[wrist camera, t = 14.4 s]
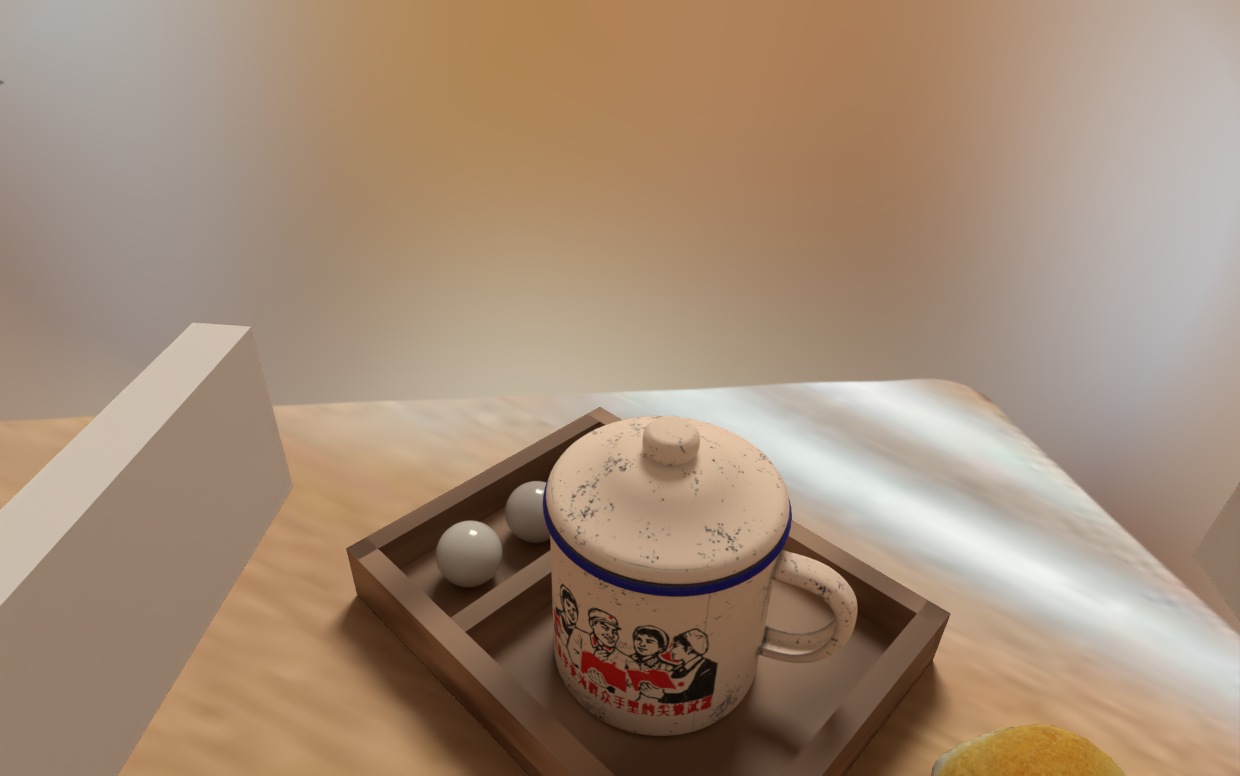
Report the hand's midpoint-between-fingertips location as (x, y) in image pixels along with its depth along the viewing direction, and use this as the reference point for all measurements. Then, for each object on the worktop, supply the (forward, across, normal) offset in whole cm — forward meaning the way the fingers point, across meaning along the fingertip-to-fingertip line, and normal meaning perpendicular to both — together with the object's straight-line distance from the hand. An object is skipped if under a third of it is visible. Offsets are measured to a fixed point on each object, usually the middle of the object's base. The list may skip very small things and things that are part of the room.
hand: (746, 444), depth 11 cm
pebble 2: (+19, -6, -22) cm, 30 cm away
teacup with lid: (+13, +1, -22) cm, 25 cm away
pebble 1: (+16, -9, -22) cm, 29 cm away
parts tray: (+15, -1, -23) cm, 27 cm away
